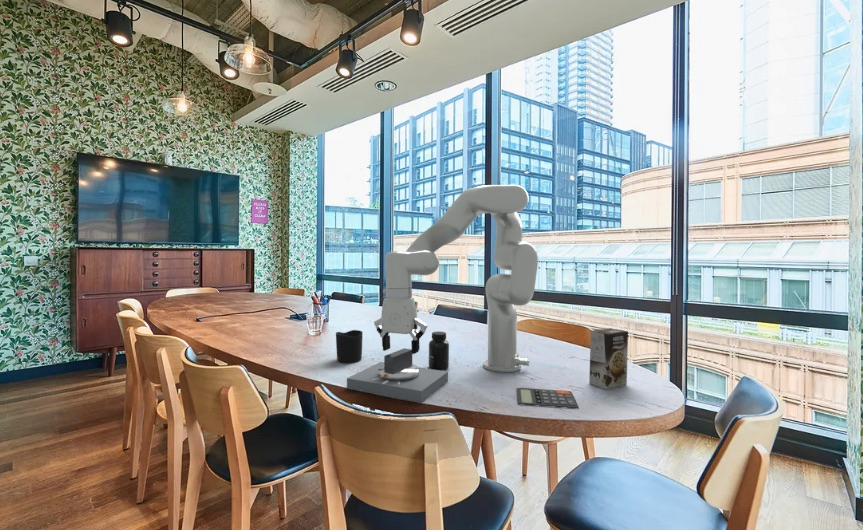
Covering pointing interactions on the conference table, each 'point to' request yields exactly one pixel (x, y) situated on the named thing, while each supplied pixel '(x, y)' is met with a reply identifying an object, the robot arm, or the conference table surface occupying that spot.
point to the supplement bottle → (438, 351)
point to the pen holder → (349, 346)
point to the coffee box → (608, 358)
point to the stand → (398, 383)
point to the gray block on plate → (398, 366)
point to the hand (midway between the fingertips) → (400, 351)
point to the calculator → (546, 397)
